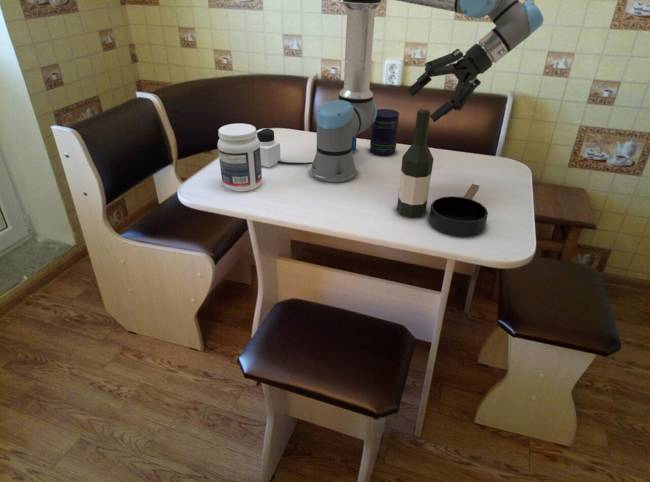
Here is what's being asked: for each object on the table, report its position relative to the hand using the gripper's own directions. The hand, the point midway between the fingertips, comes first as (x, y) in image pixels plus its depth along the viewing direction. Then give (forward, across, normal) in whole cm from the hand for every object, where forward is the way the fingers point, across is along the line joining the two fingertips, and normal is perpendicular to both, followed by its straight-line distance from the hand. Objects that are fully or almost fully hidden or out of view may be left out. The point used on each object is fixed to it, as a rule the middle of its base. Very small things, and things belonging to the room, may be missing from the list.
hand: (421, 106), depth 130 cm
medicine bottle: (+54, -3, +25) cm, 59 cm away
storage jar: (+22, +29, +24) cm, 44 cm away
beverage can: (+32, +21, +28) cm, 48 cm away
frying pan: (+9, +19, -26) cm, 33 cm away
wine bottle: (+20, +11, -20) cm, 30 cm away
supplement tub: (+58, -15, +10) cm, 60 cm away
